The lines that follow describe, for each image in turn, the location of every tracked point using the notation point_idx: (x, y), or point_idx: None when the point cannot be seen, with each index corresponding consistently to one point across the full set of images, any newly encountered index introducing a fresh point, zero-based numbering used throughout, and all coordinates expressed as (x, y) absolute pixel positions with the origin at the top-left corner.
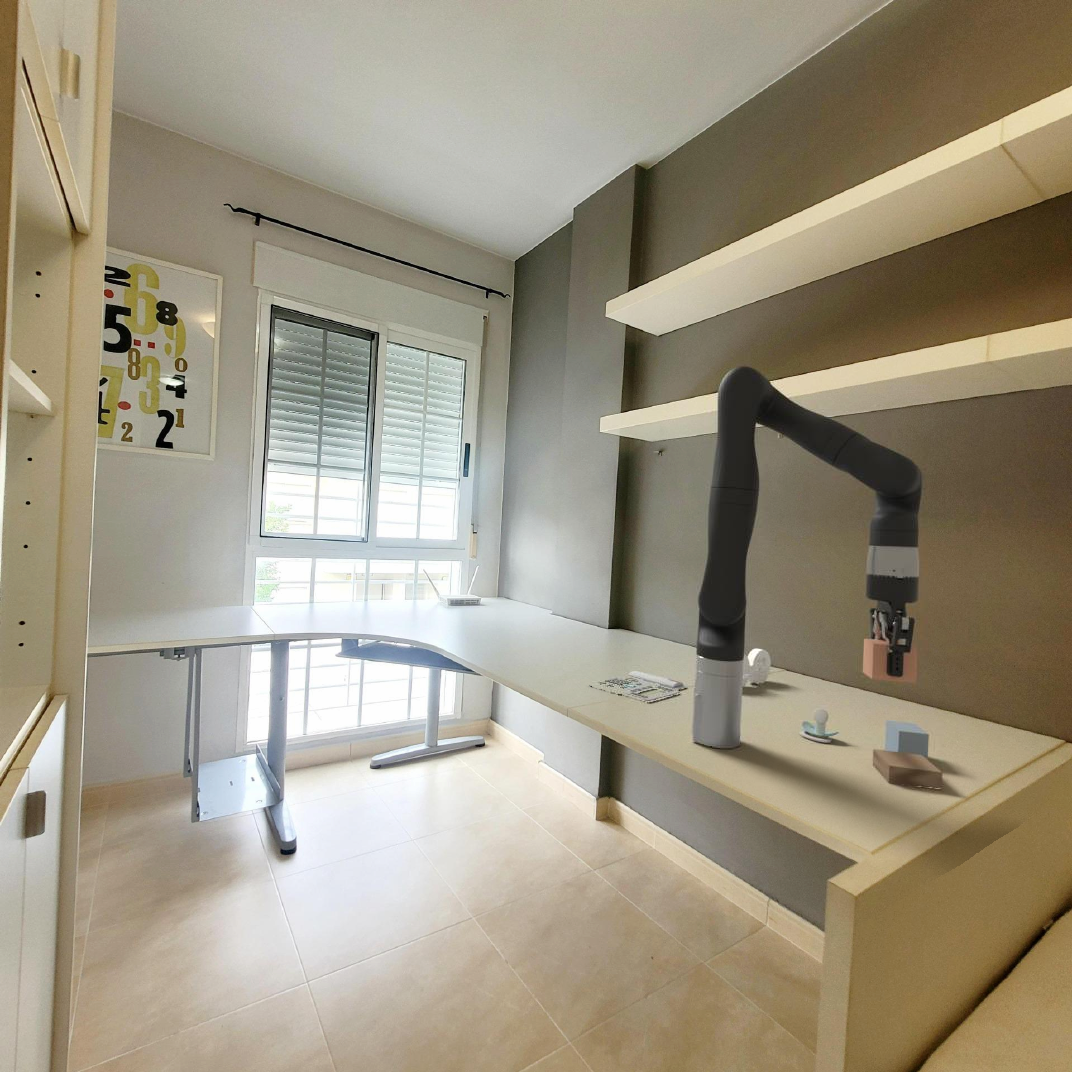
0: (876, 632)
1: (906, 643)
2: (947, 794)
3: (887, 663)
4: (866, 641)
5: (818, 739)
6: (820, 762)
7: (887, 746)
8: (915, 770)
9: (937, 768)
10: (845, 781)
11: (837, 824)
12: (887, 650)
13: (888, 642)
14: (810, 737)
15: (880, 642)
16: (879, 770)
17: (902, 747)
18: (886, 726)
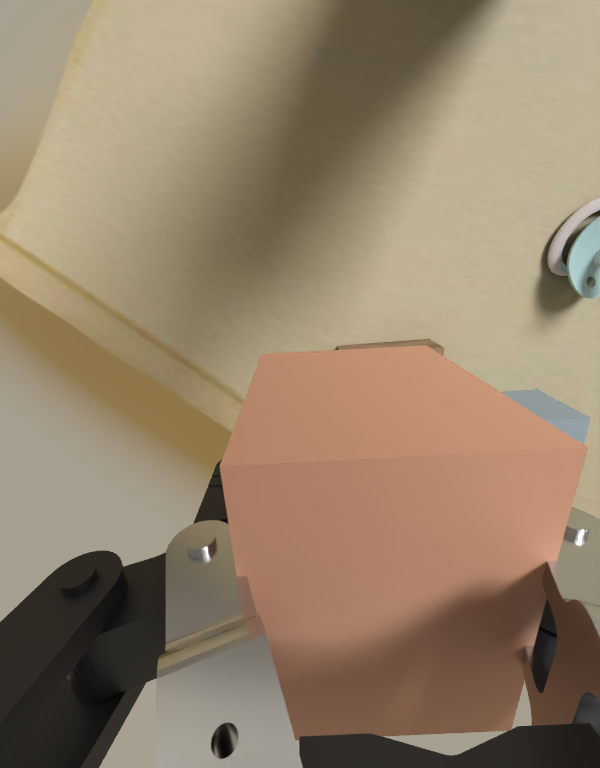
0: (593, 640)
1: (68, 726)
2: None
3: None
4: (474, 442)
5: (557, 240)
6: (406, 220)
7: (531, 394)
8: None
9: None
10: (308, 257)
11: (76, 193)
12: (195, 531)
13: (180, 608)
14: (571, 220)
15: (356, 551)
16: (389, 343)
17: None
18: (574, 411)
